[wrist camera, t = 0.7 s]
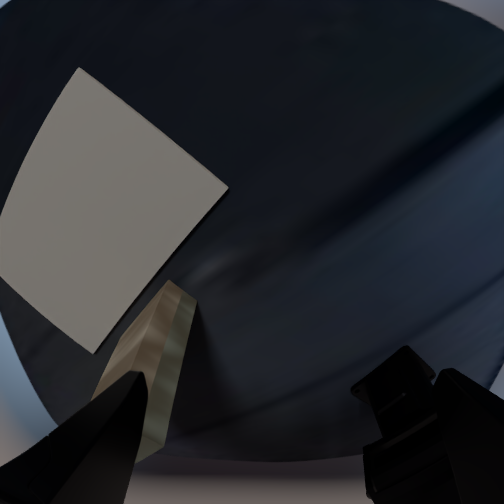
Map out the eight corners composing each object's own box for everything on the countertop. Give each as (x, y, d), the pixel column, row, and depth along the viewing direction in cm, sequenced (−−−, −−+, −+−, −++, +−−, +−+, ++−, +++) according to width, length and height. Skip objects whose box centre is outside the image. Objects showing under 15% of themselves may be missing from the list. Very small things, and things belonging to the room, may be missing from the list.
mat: (228, 187, 19) (228, 188, 19) (94, 351, 24) (93, 354, 24) (80, 68, 16) (78, 67, 16) (-13, 260, 21) (-15, 261, 21)
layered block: (197, 300, 22) (163, 446, 11) (146, 354, 24) (104, 480, 13) (168, 279, 22) (111, 418, 11) (121, 336, 24) (65, 459, 13)
